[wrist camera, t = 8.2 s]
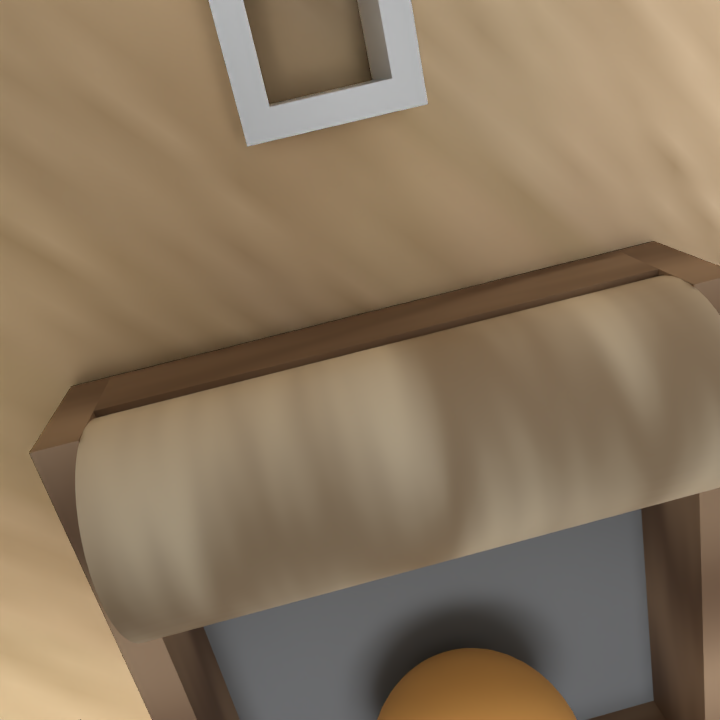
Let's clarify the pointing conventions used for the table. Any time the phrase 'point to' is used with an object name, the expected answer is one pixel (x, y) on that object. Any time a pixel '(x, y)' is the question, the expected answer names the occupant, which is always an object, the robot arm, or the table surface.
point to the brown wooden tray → (406, 463)
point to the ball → (474, 690)
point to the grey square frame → (333, 107)
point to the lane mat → (456, 628)
